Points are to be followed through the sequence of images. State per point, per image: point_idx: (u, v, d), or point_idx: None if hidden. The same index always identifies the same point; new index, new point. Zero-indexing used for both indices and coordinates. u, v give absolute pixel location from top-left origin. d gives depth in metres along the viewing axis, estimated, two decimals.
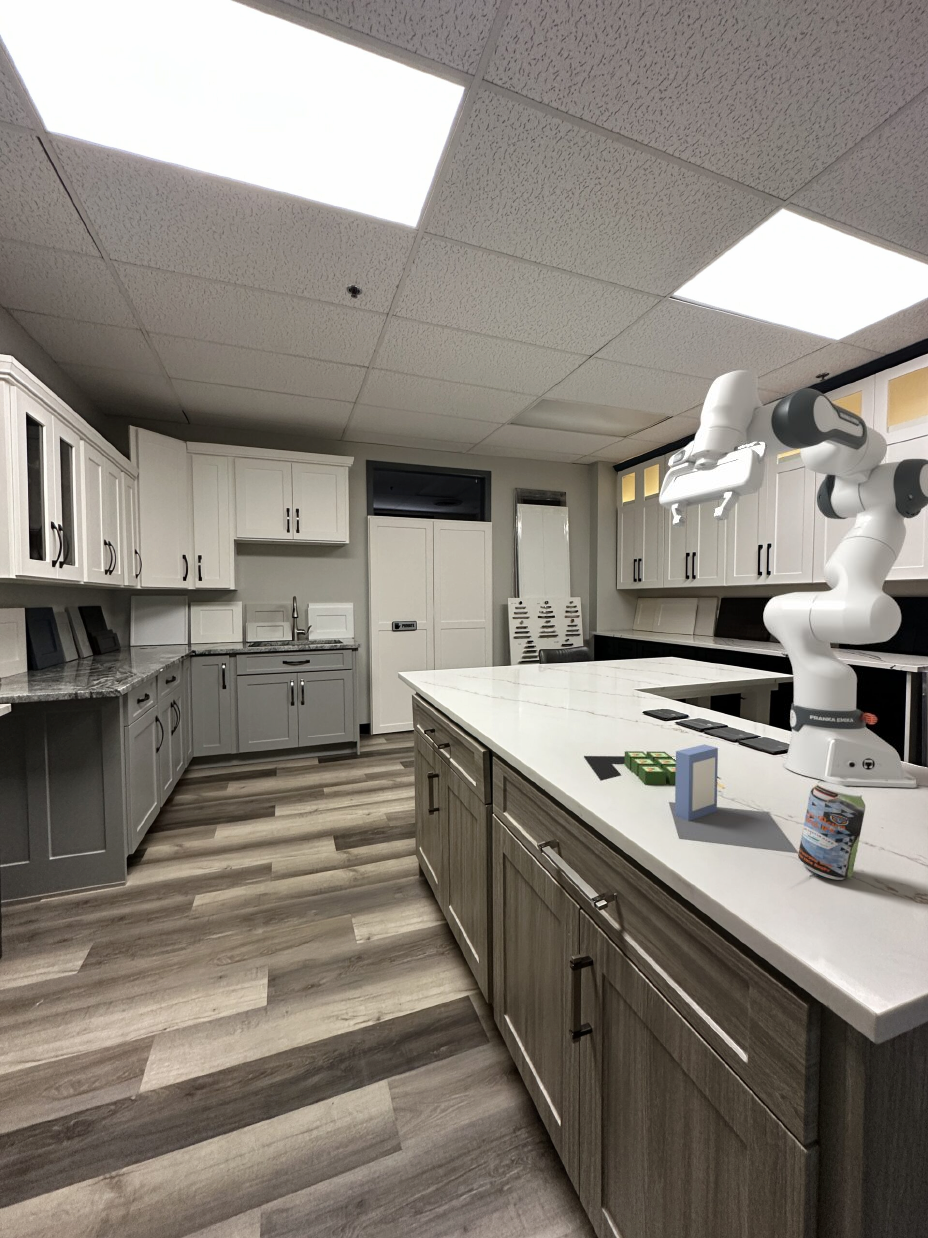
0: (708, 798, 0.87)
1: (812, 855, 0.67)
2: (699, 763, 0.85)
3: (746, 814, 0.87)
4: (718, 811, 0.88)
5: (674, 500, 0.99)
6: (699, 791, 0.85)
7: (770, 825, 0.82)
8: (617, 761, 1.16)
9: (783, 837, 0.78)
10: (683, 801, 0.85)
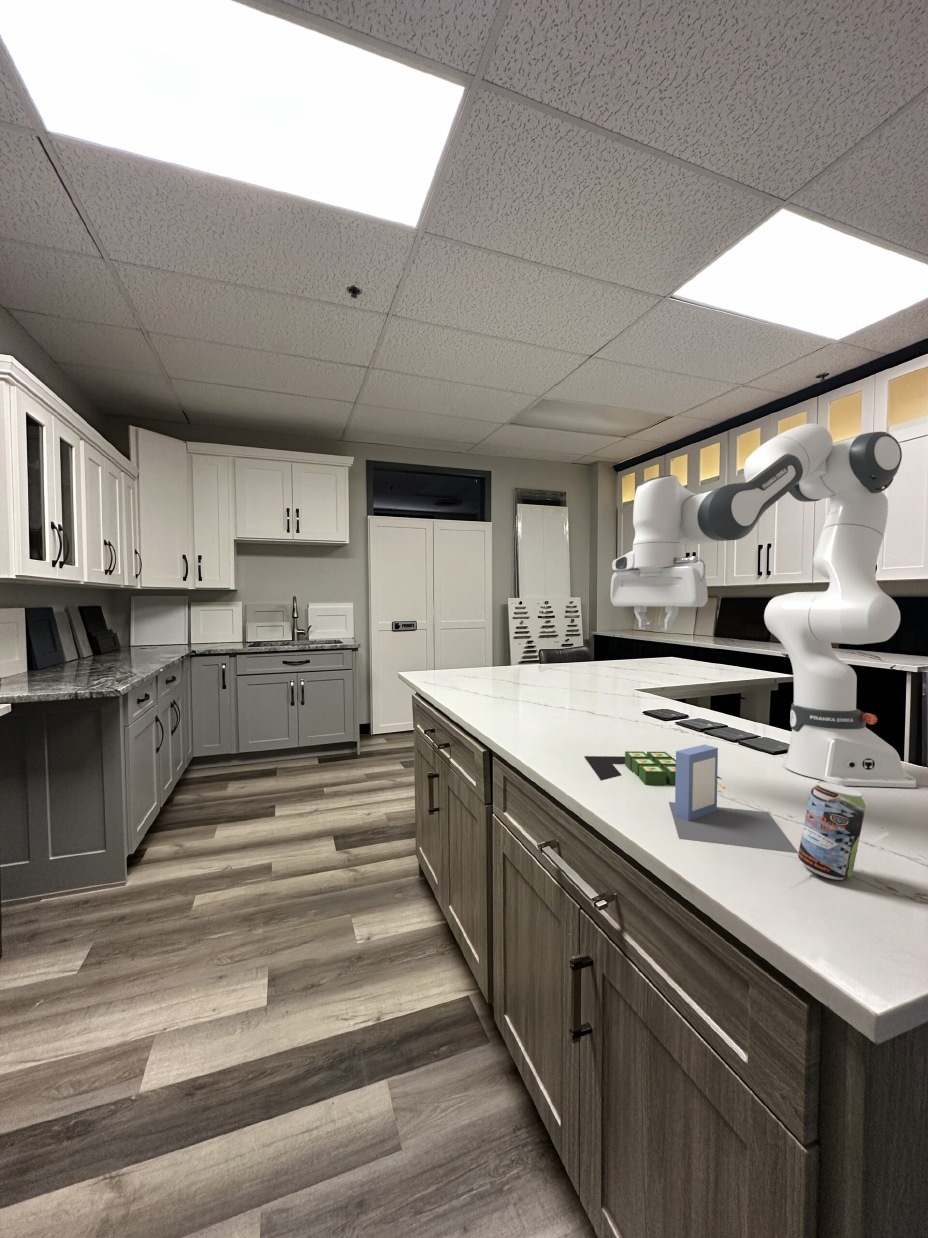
0: (708, 798, 0.87)
1: (812, 855, 0.67)
2: (699, 763, 0.85)
3: (746, 814, 0.87)
4: (718, 811, 0.88)
5: (627, 605, 1.04)
6: (699, 791, 0.85)
7: (770, 825, 0.82)
8: (617, 761, 1.16)
9: (783, 837, 0.78)
10: (683, 801, 0.85)
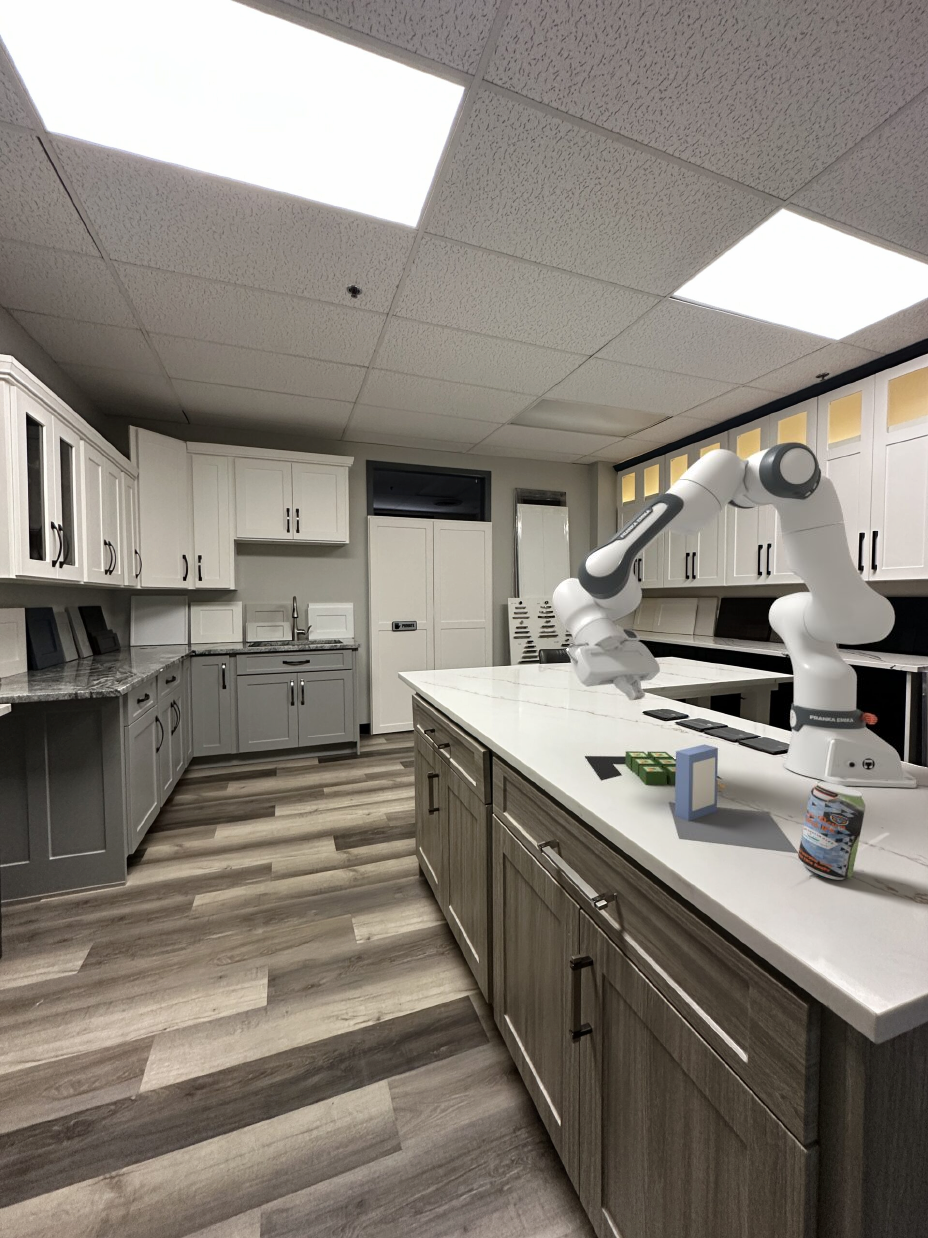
0: (708, 798, 0.87)
1: (812, 855, 0.67)
2: (699, 763, 0.85)
3: (746, 814, 0.87)
4: (718, 811, 0.88)
5: None
6: (699, 791, 0.85)
7: (770, 825, 0.82)
8: (618, 761, 1.16)
9: (783, 837, 0.78)
10: (683, 801, 0.85)
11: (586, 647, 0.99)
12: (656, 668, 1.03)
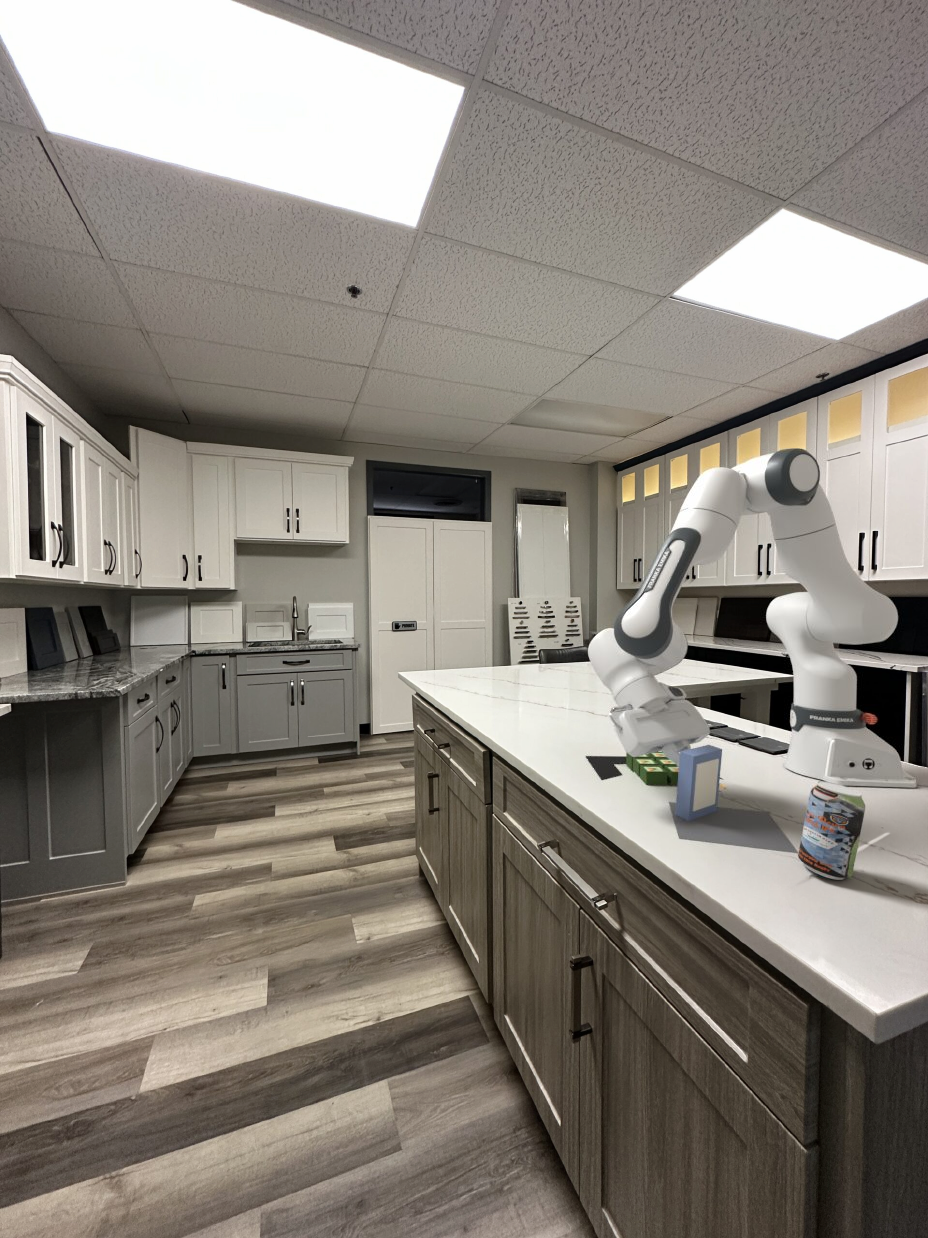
0: (709, 799, 0.87)
1: (812, 855, 0.67)
2: (703, 764, 0.84)
3: (746, 814, 0.87)
4: (718, 811, 0.88)
5: None
6: (701, 792, 0.85)
7: (770, 825, 0.82)
8: (619, 761, 1.16)
9: (783, 837, 0.78)
10: (684, 801, 0.85)
11: (631, 712, 0.90)
12: (706, 730, 0.95)
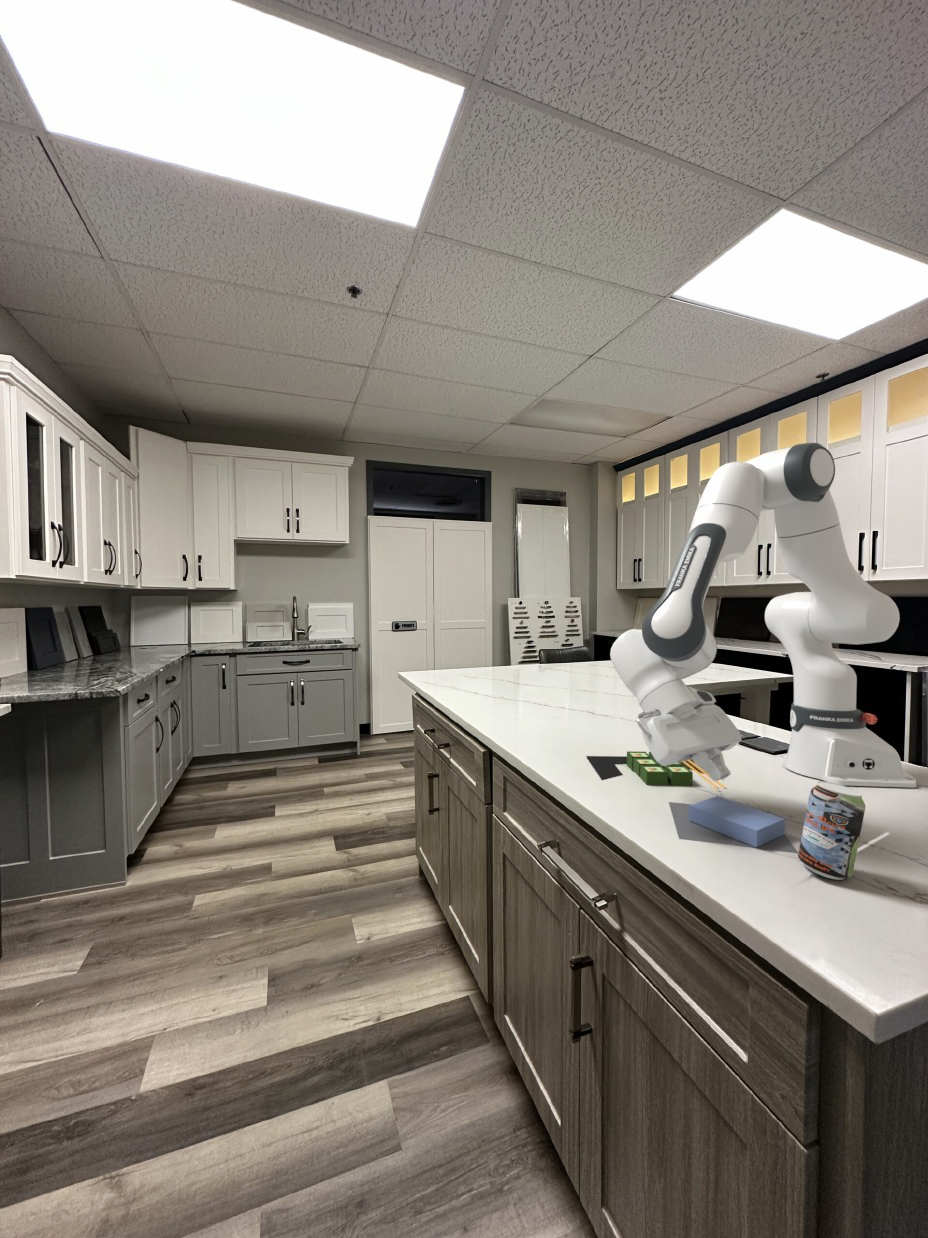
0: None
1: (812, 855, 0.67)
2: None
3: None
4: None
5: None
6: None
7: None
8: (619, 761, 1.16)
9: (783, 837, 0.78)
10: (705, 821, 0.81)
11: (659, 718, 0.85)
12: (737, 737, 0.89)
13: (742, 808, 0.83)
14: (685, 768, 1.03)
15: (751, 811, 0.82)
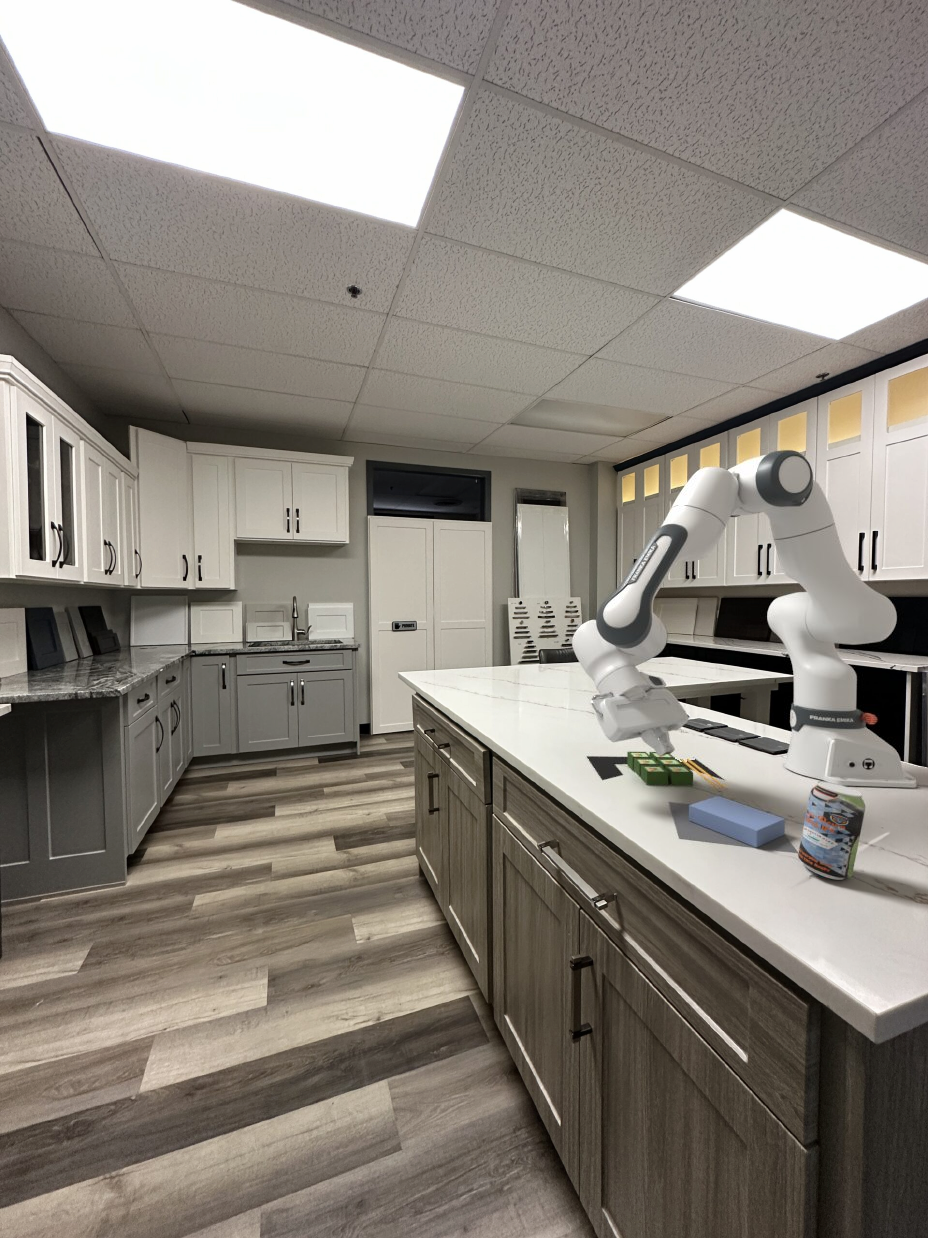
0: None
1: (812, 855, 0.67)
2: None
3: None
4: None
5: None
6: None
7: None
8: (620, 761, 1.16)
9: (783, 837, 0.78)
10: (705, 821, 0.81)
11: (611, 699, 0.93)
12: (684, 718, 0.98)
13: (742, 808, 0.83)
14: (685, 768, 1.03)
15: (751, 811, 0.82)
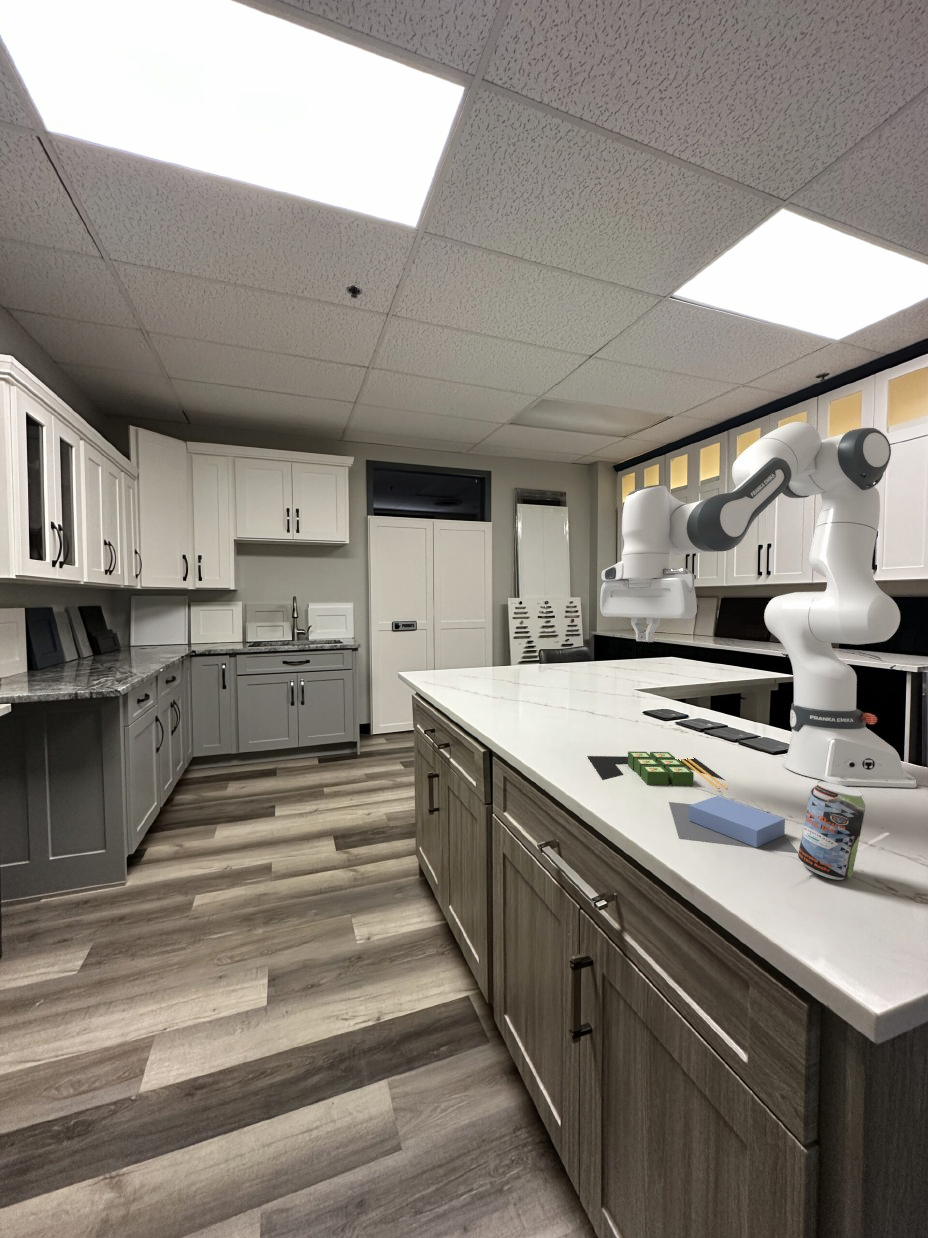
0: None
1: (812, 855, 0.67)
2: None
3: None
4: None
5: (616, 616, 1.03)
6: None
7: None
8: (620, 761, 1.16)
9: (783, 837, 0.78)
10: (705, 821, 0.81)
11: None
12: None
13: (742, 808, 0.83)
14: (686, 768, 1.03)
15: (751, 811, 0.82)
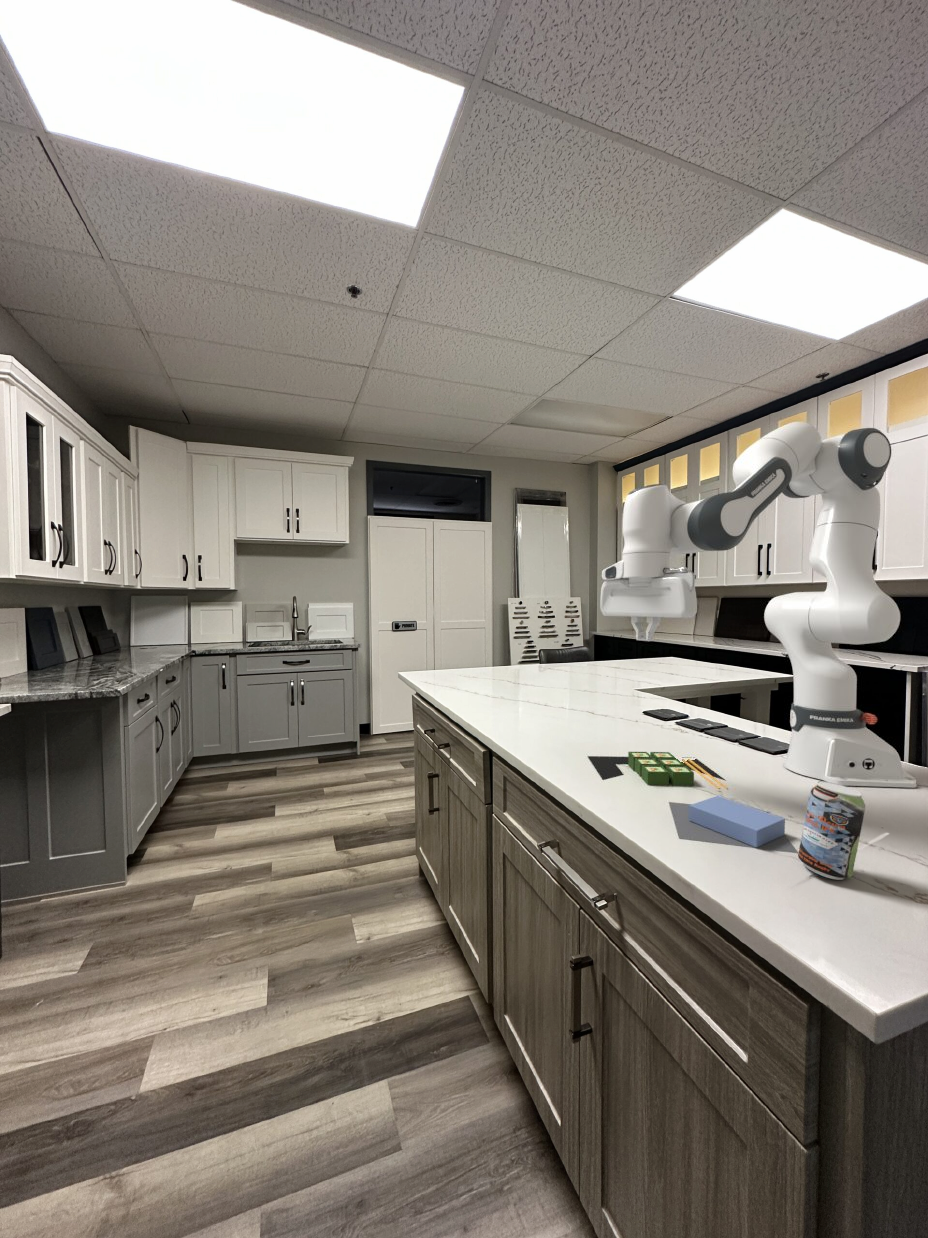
0: None
1: (812, 855, 0.67)
2: None
3: None
4: None
5: (616, 615, 1.03)
6: None
7: None
8: (621, 761, 1.16)
9: (783, 837, 0.78)
10: (705, 821, 0.81)
11: None
12: None
13: (742, 808, 0.83)
14: (686, 768, 1.03)
15: (751, 811, 0.82)
